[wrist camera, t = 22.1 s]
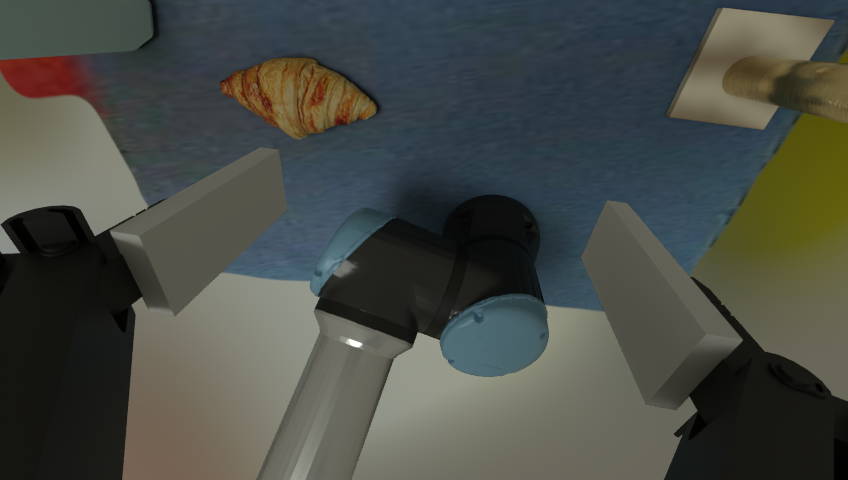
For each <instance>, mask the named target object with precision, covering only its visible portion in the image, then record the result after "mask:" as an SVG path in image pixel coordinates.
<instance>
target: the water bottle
mask: <svg viewBox="0 0 848 480" xmlns="http://www.w3.org/2000/svg"><path fill="white" fill-rule="evenodd" d="M153 33H154V25H153V15H152V5H151V3H150V1H149V0H0V60H5V59H20V58H35V57H49V56H64V55H79V54H94V53H109V52H123V51H135V50H136V49H138V48H139V47H140V46H141V45H143V44H144V43H145V42H146V41H148V40H149V39H150V38H151V37H152V36H153Z"/></svg>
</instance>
